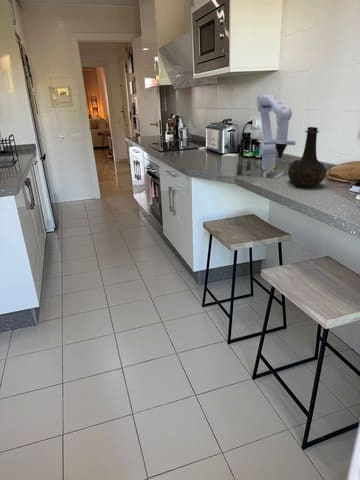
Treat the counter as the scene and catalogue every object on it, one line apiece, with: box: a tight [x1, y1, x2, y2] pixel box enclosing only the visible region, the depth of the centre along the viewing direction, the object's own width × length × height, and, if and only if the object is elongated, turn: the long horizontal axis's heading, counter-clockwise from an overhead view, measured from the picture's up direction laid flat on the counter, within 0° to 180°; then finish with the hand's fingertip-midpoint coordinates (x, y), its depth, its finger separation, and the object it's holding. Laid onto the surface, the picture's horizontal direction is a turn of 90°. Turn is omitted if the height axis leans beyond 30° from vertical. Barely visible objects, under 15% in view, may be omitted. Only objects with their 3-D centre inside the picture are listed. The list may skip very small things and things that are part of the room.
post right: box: [245, 157, 252, 171], centre depth 203 cm, size 2×2×8 cm
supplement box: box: [221, 153, 239, 178], centre depth 191 cm, size 7×7×13 cm
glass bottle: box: [287, 126, 327, 188], centre depth 166 cm, size 18×18×28 cm
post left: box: [237, 161, 244, 176], centre depth 192 cm, size 2×2×8 cm
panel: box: [245, 168, 286, 180], centre depth 192 cm, size 17×18×4 cm
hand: (280, 158), depth 189 cm, fingers closed
